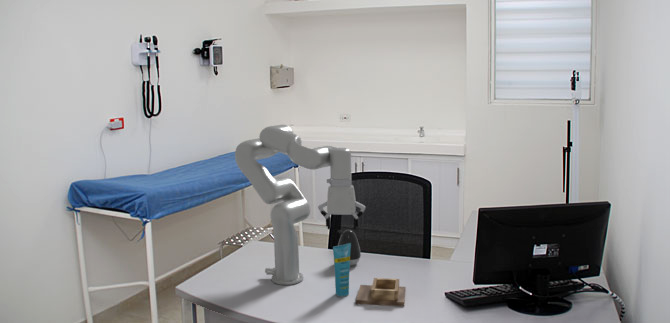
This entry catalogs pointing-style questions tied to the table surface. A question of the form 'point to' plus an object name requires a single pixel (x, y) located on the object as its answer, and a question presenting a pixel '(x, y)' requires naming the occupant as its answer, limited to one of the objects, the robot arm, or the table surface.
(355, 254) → the dark grey egg-shaped piece
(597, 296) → the table surface
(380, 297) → the tube stand
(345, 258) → the tube
